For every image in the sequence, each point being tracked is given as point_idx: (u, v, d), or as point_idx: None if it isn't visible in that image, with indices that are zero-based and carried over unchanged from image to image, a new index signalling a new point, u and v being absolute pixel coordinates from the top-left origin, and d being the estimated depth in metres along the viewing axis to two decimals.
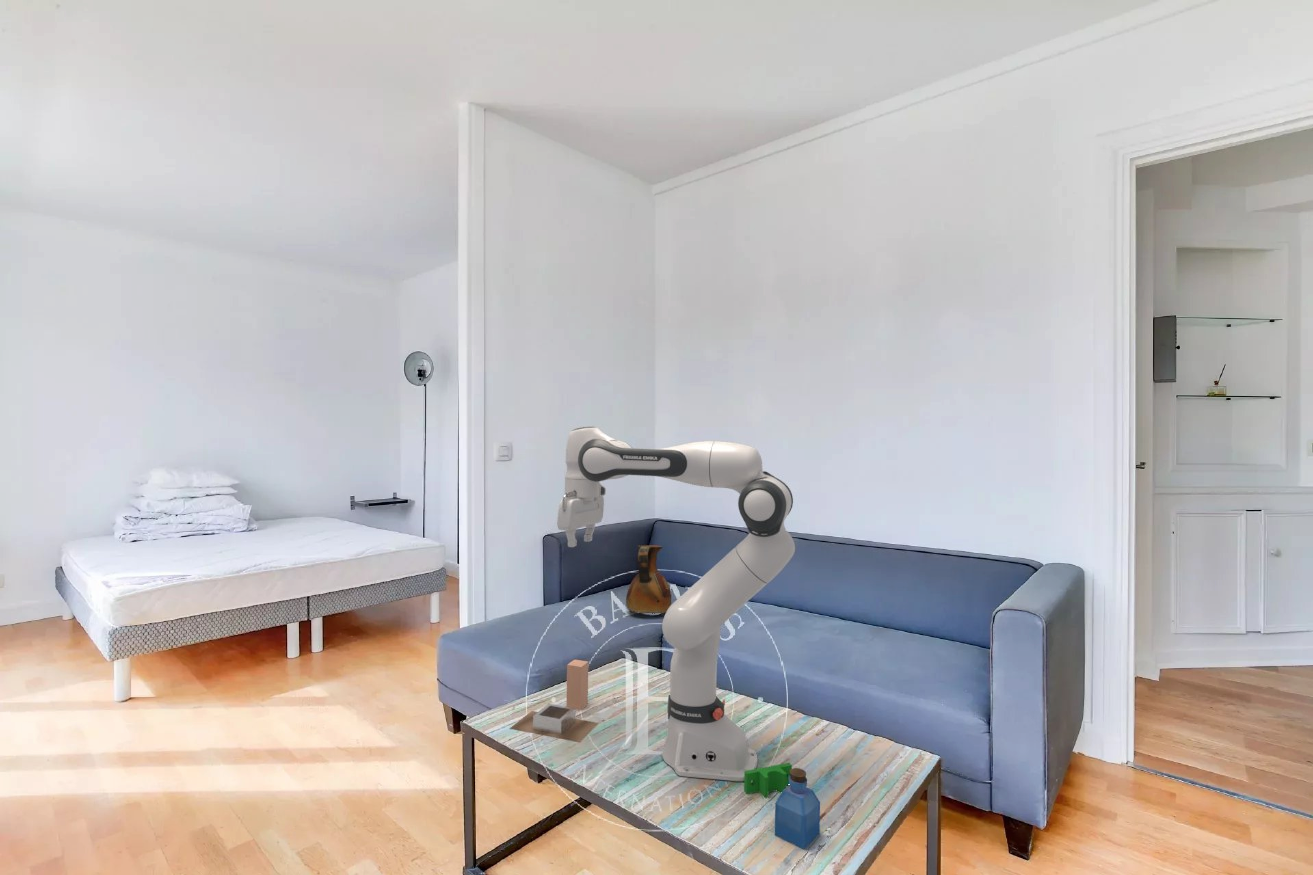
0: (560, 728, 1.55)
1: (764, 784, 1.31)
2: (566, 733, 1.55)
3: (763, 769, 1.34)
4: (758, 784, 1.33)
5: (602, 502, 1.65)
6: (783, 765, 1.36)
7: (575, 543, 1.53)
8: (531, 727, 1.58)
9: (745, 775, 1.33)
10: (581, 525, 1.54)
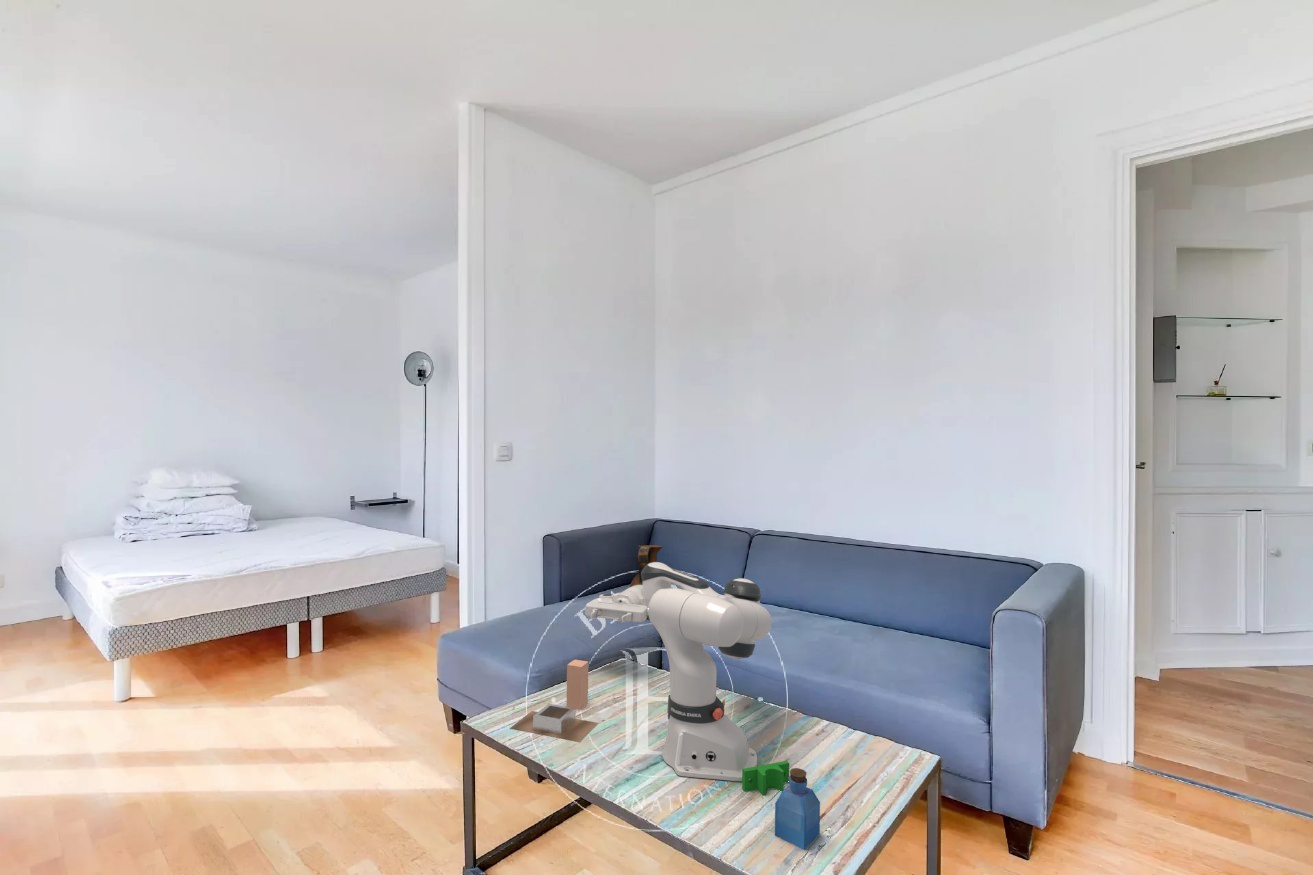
0: (560, 728, 1.55)
1: (762, 781, 1.32)
2: (566, 733, 1.55)
3: (761, 767, 1.35)
4: (755, 782, 1.34)
5: None
6: (781, 763, 1.37)
7: None
8: (531, 727, 1.58)
9: (743, 773, 1.34)
10: None
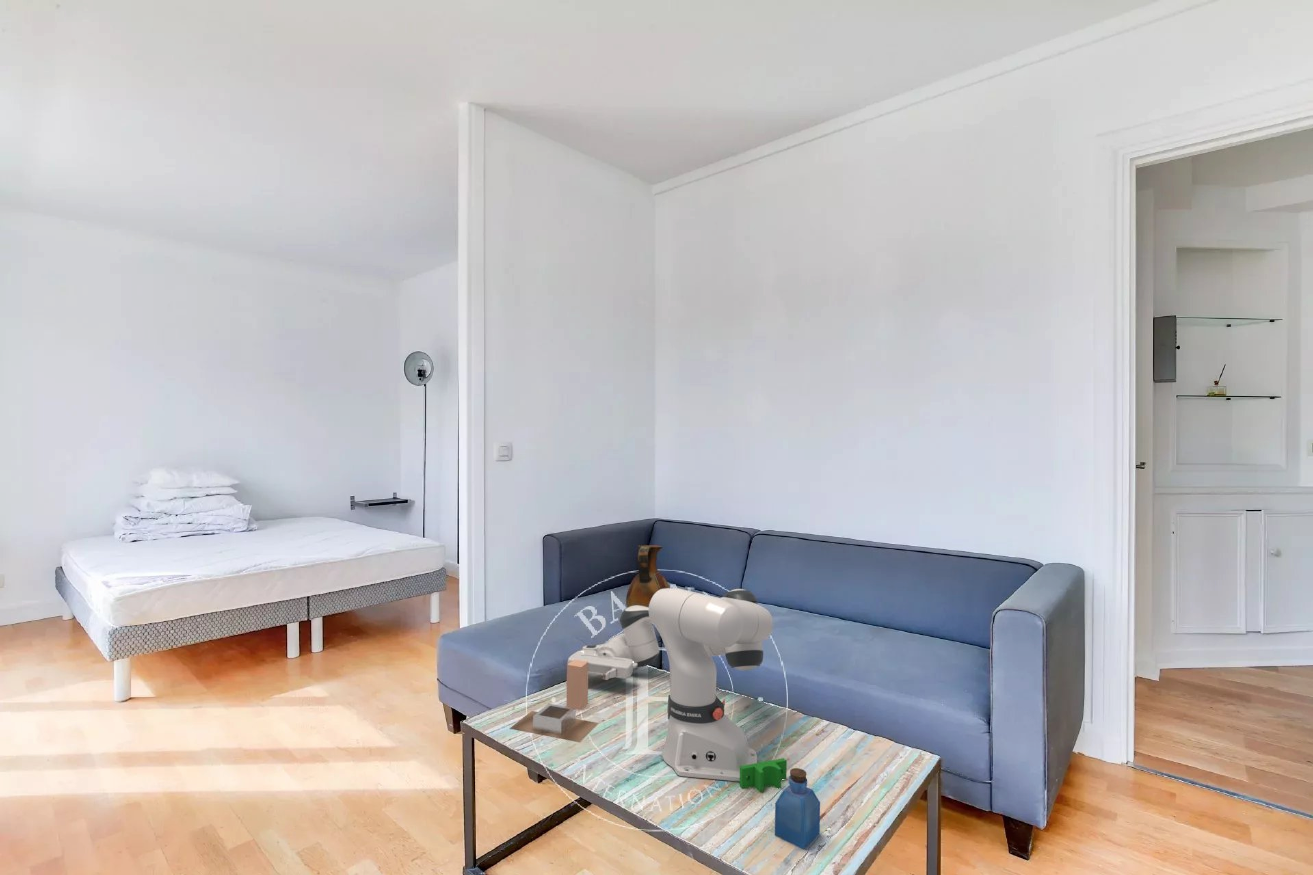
0: (560, 728, 1.55)
1: (759, 778, 1.33)
2: (566, 733, 1.55)
3: (758, 765, 1.36)
4: (753, 779, 1.35)
5: None
6: (778, 760, 1.38)
7: None
8: (531, 727, 1.58)
9: (740, 770, 1.35)
10: None
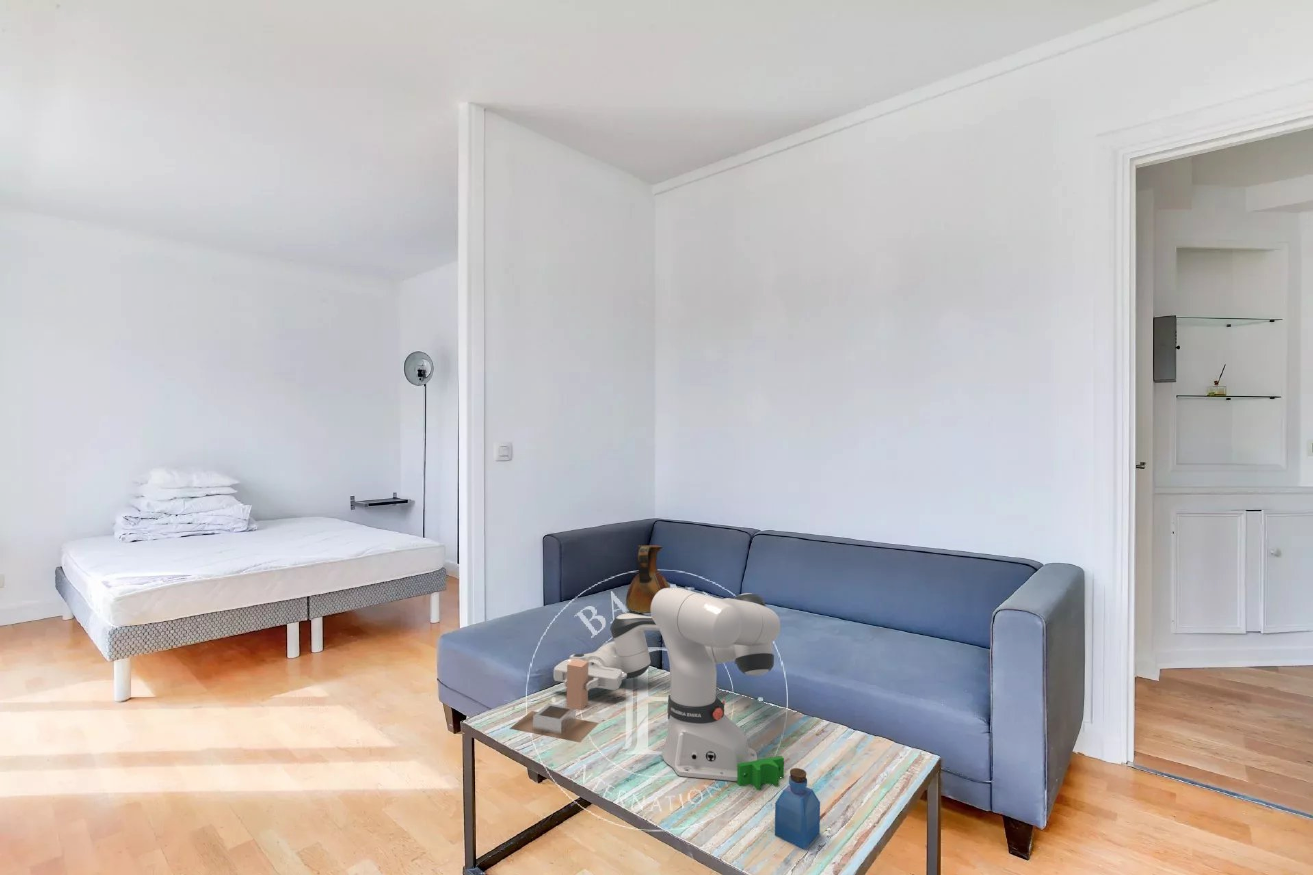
0: (560, 728, 1.55)
1: (756, 776, 1.34)
2: (566, 733, 1.55)
3: (756, 762, 1.37)
4: (750, 776, 1.36)
5: None
6: (775, 758, 1.39)
7: None
8: (531, 727, 1.58)
9: (738, 768, 1.36)
10: None
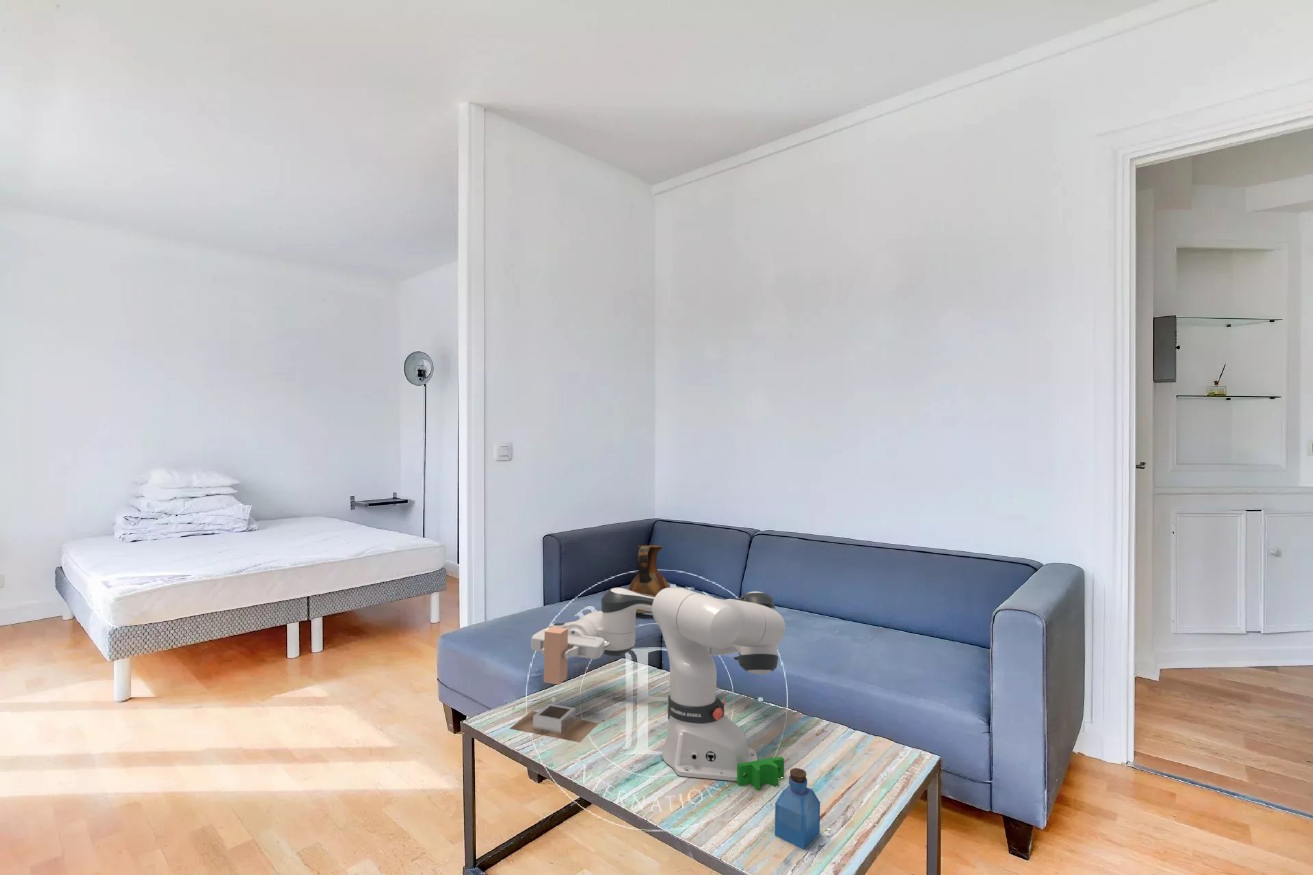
0: (560, 728, 1.55)
1: (756, 776, 1.34)
2: (566, 733, 1.55)
3: (756, 762, 1.37)
4: (750, 777, 1.36)
5: None
6: (775, 759, 1.38)
7: None
8: (531, 727, 1.58)
9: (738, 768, 1.36)
10: None
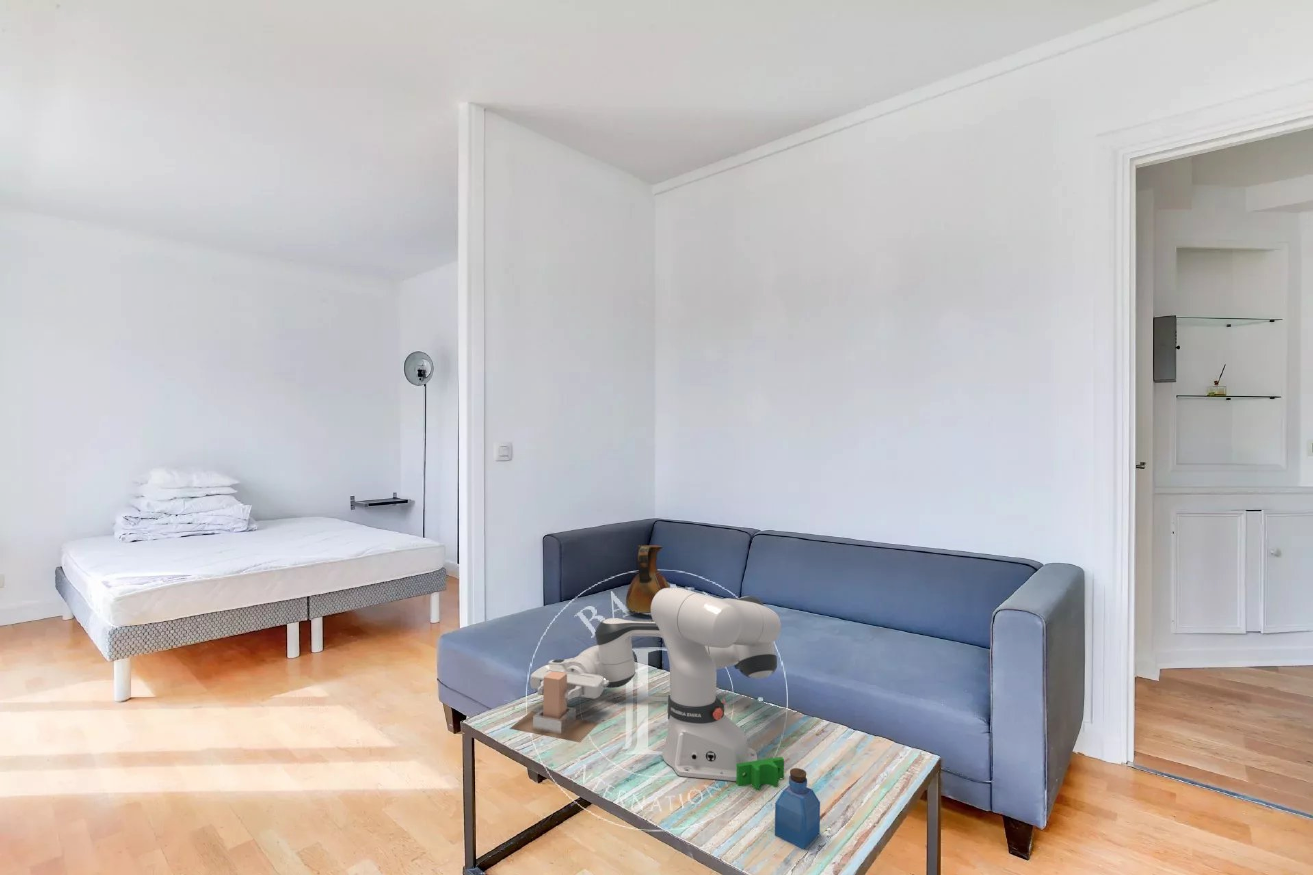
0: (560, 728, 1.55)
1: (755, 776, 1.34)
2: (566, 733, 1.55)
3: (755, 762, 1.36)
4: (750, 777, 1.36)
5: None
6: (775, 759, 1.38)
7: None
8: (531, 727, 1.58)
9: (737, 768, 1.36)
10: None
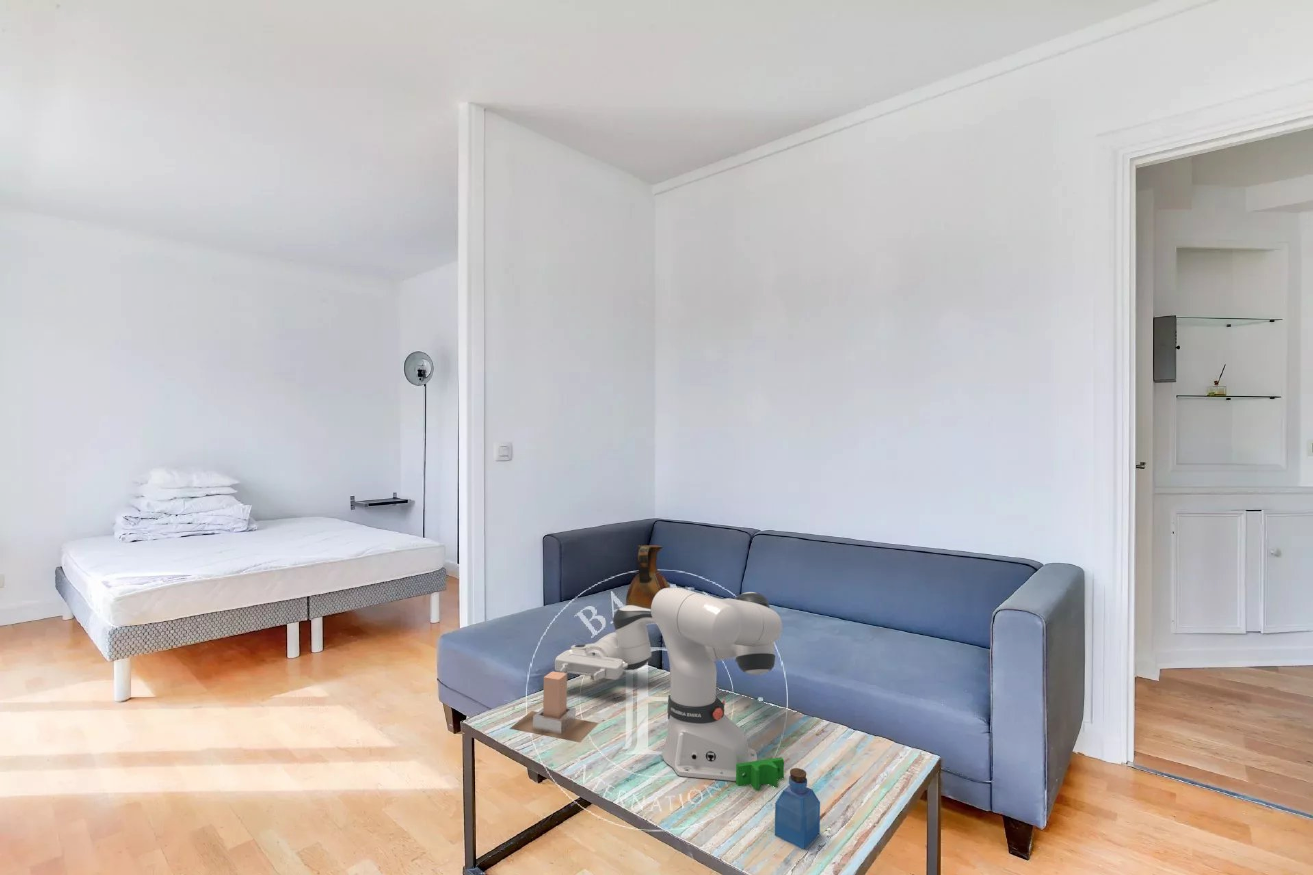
0: (560, 728, 1.55)
1: (755, 776, 1.34)
2: (566, 733, 1.55)
3: (755, 763, 1.36)
4: (749, 777, 1.36)
5: None
6: (775, 759, 1.38)
7: None
8: (531, 727, 1.58)
9: (737, 768, 1.36)
10: None
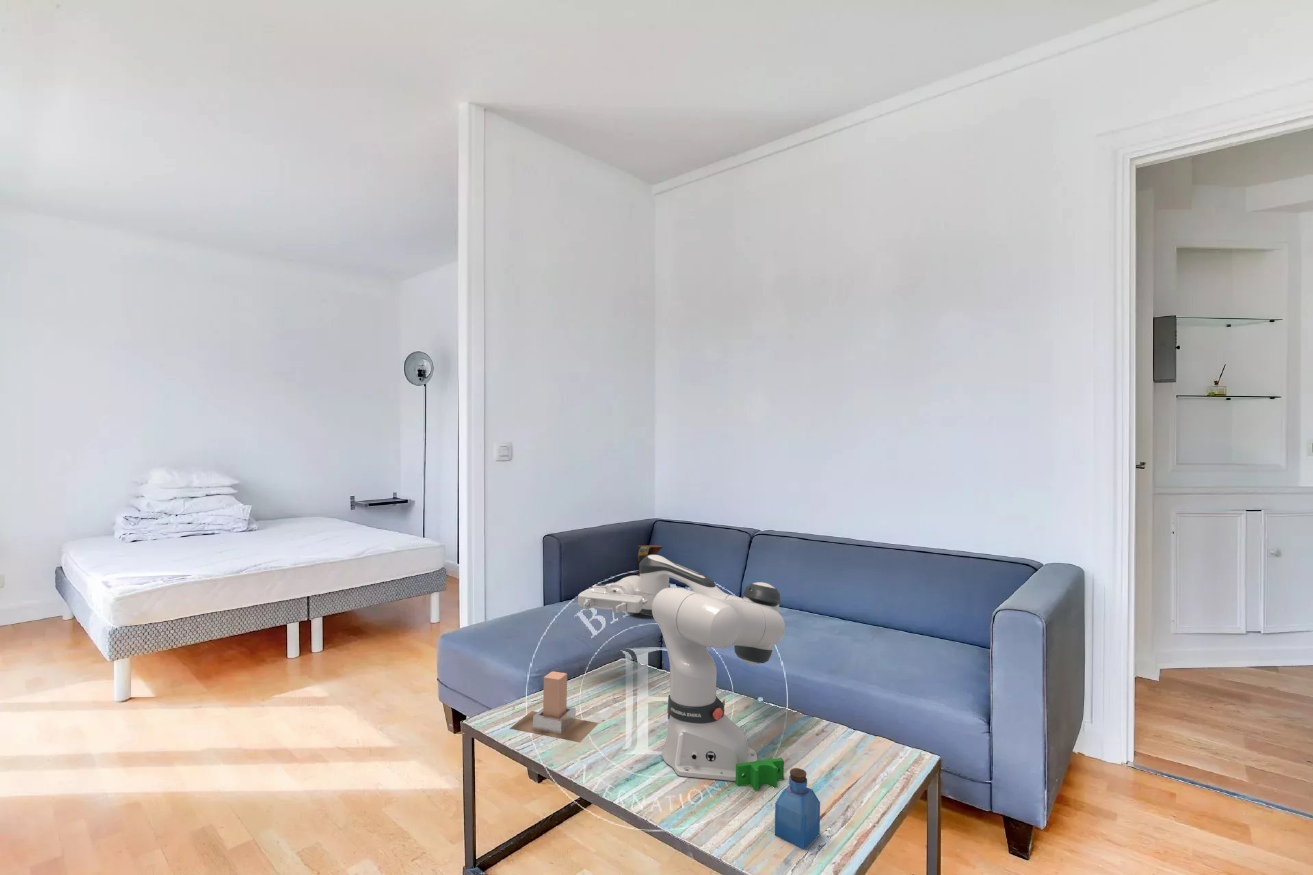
0: (560, 728, 1.55)
1: (754, 777, 1.34)
2: (566, 733, 1.55)
3: (755, 763, 1.36)
4: (749, 777, 1.36)
5: None
6: (775, 760, 1.38)
7: None
8: (531, 727, 1.58)
9: (736, 768, 1.36)
10: None
